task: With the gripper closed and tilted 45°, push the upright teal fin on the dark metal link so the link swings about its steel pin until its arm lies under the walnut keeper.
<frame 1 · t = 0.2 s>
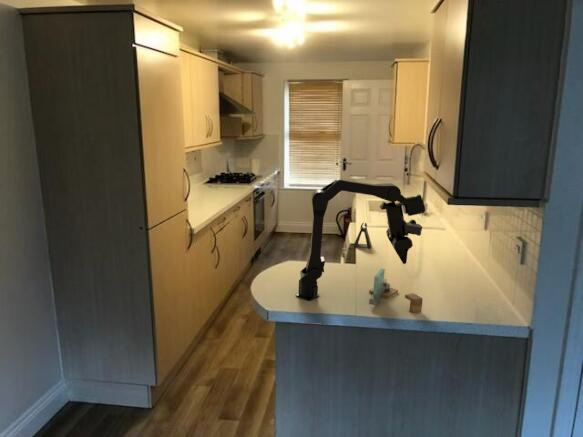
hand: (402, 259, 166), 15 cm above the countertop, tool pointing down, fingers open, 9 cm apart
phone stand: (362, 246, 237), on the countertop
keeper: (415, 311, 158), on the countertop
pintle block: (383, 292, 174), on the countertop
link: (380, 283, 167), point 6 cm above the countertop, hinge at -75.0°
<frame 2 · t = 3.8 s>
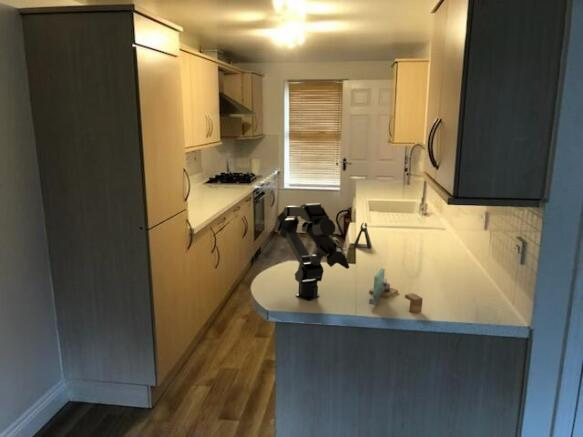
hand: (348, 267, 163), 13 cm above the countertop, tool tilted 45°, fingers closed
nothing on the countertop moved.
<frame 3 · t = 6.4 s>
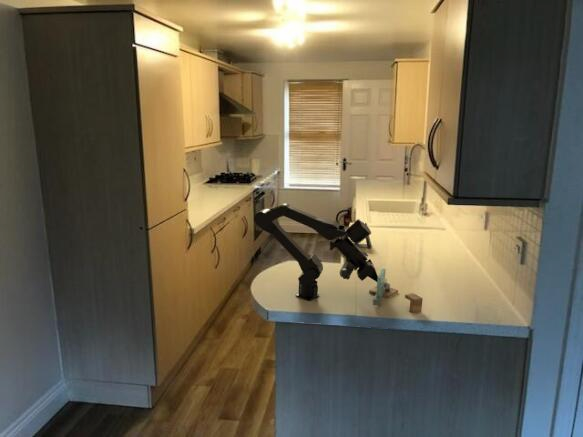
hand: (378, 280, 164), 8 cm above the countertop, tool tilted 45°, fingers closed
link: (381, 283, 167), point 6 cm above the countertop, hinge at -70.3°, touching gripper
everything else where it was.
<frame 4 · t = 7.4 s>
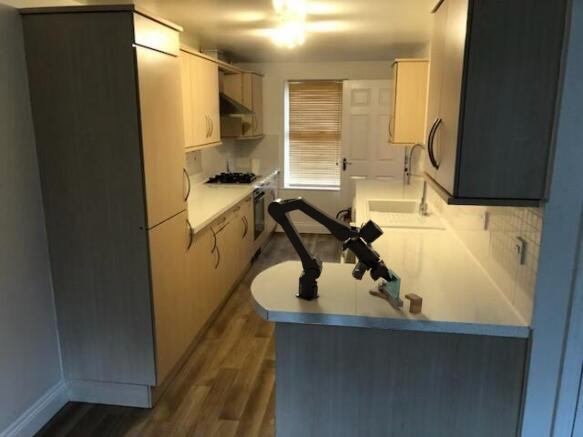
hand: (390, 281, 164), 8 cm above the countertop, tool tilted 45°, fingers closed
link: (391, 284, 166), point 6 cm above the countertop, hinge at -42.1°, touching gripper
everything else where it was.
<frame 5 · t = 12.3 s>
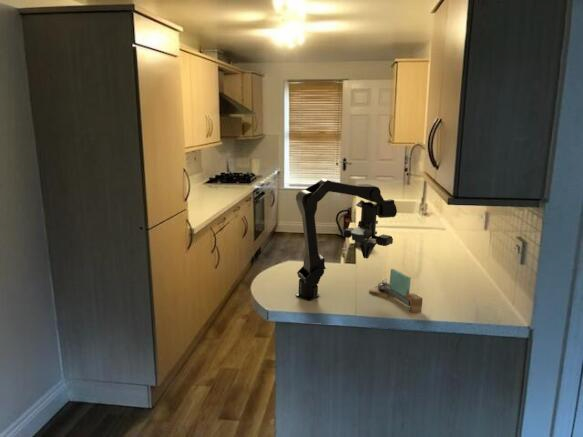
hand: (365, 258, 174), 13 cm above the countertop, tool pointing down, fingers closed
link: (396, 283, 167), point 6 cm above the countertop, hinge at -25.9°
everything else where it was.
at the end: link at -26° (first picture: -75°) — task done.
